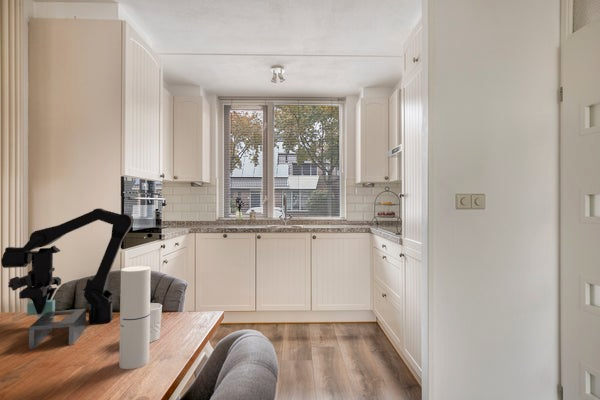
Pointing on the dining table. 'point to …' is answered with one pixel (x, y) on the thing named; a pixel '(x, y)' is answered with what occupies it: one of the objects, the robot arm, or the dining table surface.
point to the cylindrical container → (134, 317)
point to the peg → (48, 308)
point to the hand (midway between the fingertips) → (41, 312)
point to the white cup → (155, 321)
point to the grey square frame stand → (46, 323)
